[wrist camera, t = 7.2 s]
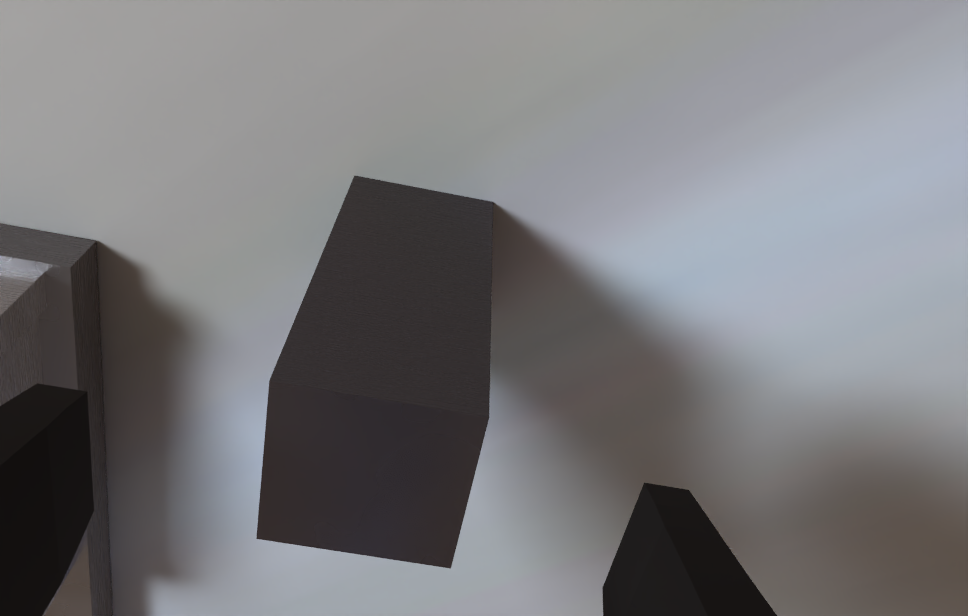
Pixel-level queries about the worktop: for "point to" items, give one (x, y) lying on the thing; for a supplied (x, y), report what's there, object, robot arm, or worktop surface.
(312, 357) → the charcoal grey cuboid
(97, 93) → the worktop surface
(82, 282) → the bin
